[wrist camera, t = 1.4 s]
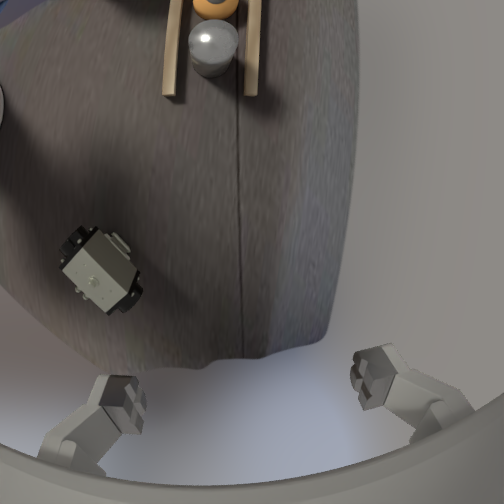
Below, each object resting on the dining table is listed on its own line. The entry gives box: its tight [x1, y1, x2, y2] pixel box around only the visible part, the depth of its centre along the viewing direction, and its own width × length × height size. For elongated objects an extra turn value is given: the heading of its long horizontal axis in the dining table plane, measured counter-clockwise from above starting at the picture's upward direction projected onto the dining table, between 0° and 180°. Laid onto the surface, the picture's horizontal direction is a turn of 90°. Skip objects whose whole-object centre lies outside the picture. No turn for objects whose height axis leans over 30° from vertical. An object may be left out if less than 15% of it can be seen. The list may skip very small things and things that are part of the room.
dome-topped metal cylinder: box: [189, 19, 238, 78], centre depth 27 cm, size 5×5×10 cm
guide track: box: [162, 0, 261, 96], centre depth 26 cm, size 18×26×4 cm
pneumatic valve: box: [59, 225, 143, 315], centre depth 34 cm, size 6×12×12 cm, turn 36°
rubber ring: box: [193, 0, 239, 20], centre depth 26 cm, size 6×6×3 cm
